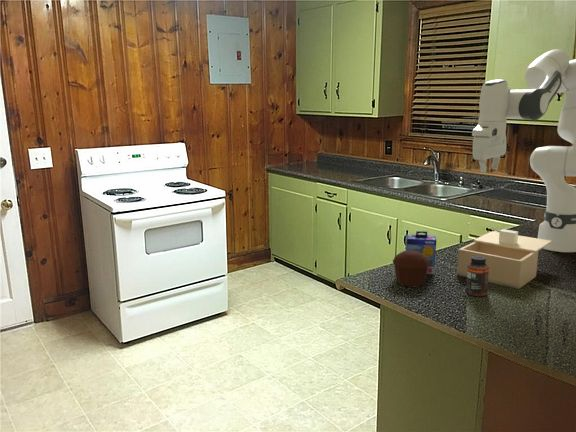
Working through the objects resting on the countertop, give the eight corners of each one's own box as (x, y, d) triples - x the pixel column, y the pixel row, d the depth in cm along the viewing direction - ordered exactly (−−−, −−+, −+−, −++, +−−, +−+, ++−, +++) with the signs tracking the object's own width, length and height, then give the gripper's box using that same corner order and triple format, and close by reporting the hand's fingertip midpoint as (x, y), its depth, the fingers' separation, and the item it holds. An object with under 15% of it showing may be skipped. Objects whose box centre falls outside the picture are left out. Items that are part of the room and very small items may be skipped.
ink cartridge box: (405, 273, 172) (406, 231, 169) (404, 268, 178) (405, 227, 175) (435, 274, 171) (437, 232, 167) (434, 269, 176) (436, 228, 173)
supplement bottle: (485, 290, 156) (488, 255, 153) (488, 297, 150) (491, 260, 148) (465, 289, 157) (467, 253, 155) (467, 296, 152) (469, 259, 149)
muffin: (432, 278, 167) (433, 249, 165) (426, 290, 157) (427, 259, 155) (396, 274, 172) (397, 245, 170) (388, 285, 162) (388, 254, 160)
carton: (476, 264, 181) (478, 239, 179) (536, 276, 167) (538, 250, 165) (457, 274, 170) (458, 249, 168) (518, 288, 157) (521, 261, 155)
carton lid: (492, 232, 188) (493, 220, 187) (551, 242, 174) (553, 229, 173) (473, 241, 177) (474, 228, 176) (535, 252, 163) (537, 238, 162)
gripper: (494, 127, 181) (491, 166, 185) (469, 131, 167) (467, 173, 170) (512, 128, 177) (509, 167, 180) (489, 131, 163) (486, 175, 166)
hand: (488, 170), depth 175 cm, fingers open, 8 cm apart
